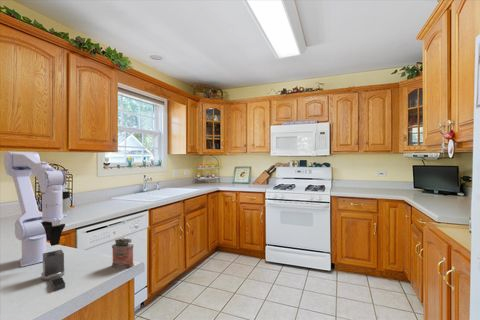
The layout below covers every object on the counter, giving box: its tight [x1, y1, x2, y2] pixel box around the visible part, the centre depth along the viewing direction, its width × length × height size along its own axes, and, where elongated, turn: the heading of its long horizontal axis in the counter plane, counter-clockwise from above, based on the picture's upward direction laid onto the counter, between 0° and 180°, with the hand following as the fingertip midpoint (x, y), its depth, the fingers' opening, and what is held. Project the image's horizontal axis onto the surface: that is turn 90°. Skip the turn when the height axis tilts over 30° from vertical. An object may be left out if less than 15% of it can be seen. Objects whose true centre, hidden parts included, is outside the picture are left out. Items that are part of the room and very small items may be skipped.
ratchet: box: [41, 270, 66, 292], centre depth 76 cm, size 15×6×4 cm, turn 45°
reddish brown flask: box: [111, 237, 135, 269], centre depth 87 cm, size 8×3×10 cm, turn 80°
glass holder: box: [62, 191, 72, 213], centre depth 184 cm, size 9×14×15 cm, turn 166°
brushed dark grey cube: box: [42, 249, 65, 276], centre depth 80 cm, size 5×5×6 cm
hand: (53, 242), depth 85 cm, fingers open, 7 cm apart
